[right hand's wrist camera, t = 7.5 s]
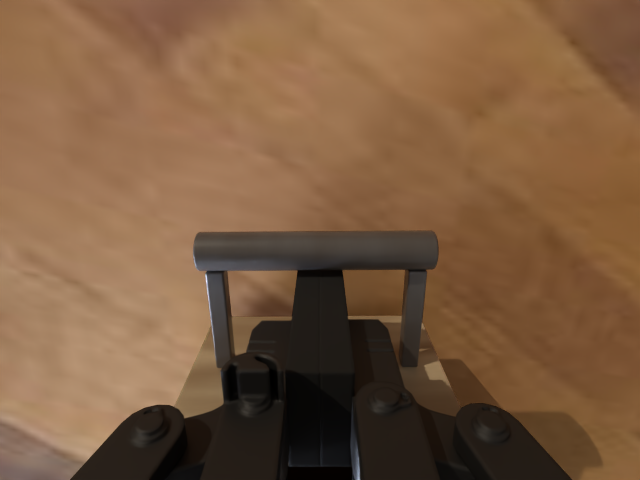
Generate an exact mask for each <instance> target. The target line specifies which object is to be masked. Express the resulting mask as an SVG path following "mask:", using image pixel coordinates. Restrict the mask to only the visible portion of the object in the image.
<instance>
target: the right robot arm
mask: <svg viewBox="0 0 640 480" xmlns="http://www.w3.org/2000/svg"><path fill="white" fill-rule="evenodd" d="M220 372H221V382H222V391H223V400H224V403H223V405H221V406H220V407H218V408H216V409H214V410H212V411H209V412H206V413H203V414H200V415H196V416H192V417H188V418H184V415H183V414H182V413H181V411H180V410H179V409H177V408H175V407H173V406H170V405H155V406H150V407H146V408H143V409H141V410H139V411H137V412H135V413H133V414H132V415H131V416H129V417H128V418H127V419H126V420H125V421H123V422H122V423H121V424H120V425H119V426H118V428H117V429H116V430H115V431H114V432H113V433H112V434H111V435H110V436H109V437H108V439H107V440H106V441H105V442H104V443H103V444H102V445H101V446H100V447H99V448H98V450H97V451H96V452H95V453H94V454H93V455H92V456H91V457H90V458H89V460H88V461H87V462H86V463H85V464H84V465H83V466H82V467H81V468H80V469H79V471H78V472H77V473H76V474H75V475H74V476H73V477H72V478H71V479H70V480H288V475H287V472H288V466H289V467H351V466H352V470H353V475H352V480H572V479H571V478H570V477H569V476H568V475H567V474H566V473H565V471H564V470H563V469H562V468H561V467H560V466H559V465H558V464H557V463H556V462H555V460H554V459H553V458H552V457H551V456H550V455H549V454H548V453H547V452H546V451H545V450H544V448H543V447H542V446H541V445H540V444H539V443H538V442H537V441H536V440H535V439H534V437H533V436H532V435H531V434H530V433H529V432H528V431H527V430H526V429H525V428H524V427H523V425H522V424H521V423H520V422H519V421H518V420H517V419H515V418H514V417H513V416H512V415H511V414H509V413H508V412H506V411H504V410H502V409H500V408H498V407H496V406H492V405H488V404H484V403H473V404H469V405H466V406H464V407H462V408H461V409H460V410H459V411H458V413H457V414H456V417H455V416H451V415H447V414H443V413H439V412H435V411H432V410H429V409H427V408H425V407H423V406H421V405H419V404H418V403H417V402H416V400H415V398H414V397H413V395H412V393H410V392H409V391H408V390H407V389H406V388H405V387H404V383H403V380H402V376H401V373H400V369H399V366H398V362H397V359H396V355H395V352H394V348H393V345H392V342H391V338H390V334H389V331H388V328H387V327H386V326H385V325H384V324H383V323H382V322H381V321H380V320H379V319H348V313H347V304H346V296H345V288H344V280H343V272H342V270H298V272H297V280H296V288H295V296H294V305H293V313H292V320H262V321H261V322H260V323H259V324H258V325H257V326H256V327H255V328H254V329H253V330H252V332H251V336H250V339H249V344H248V346H247V350H246V353H243V354H240V355H238V356H235V357H233V358H232V359H230V360H229V361H228V362H226V363H225V364H224V366H223V368H222V369H221V371H220Z"/></svg>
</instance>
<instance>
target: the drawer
mask: <svg viewBox="0 0 640 480" xmlns="http://www.w3.org/2000/svg"><path fill="white" fill-rule="evenodd" d="M193 257H194V263H195V266H196V268H197V270H199V271H207V272H206V274H205V275H206V283H207V292H208V300H209V309H210V317H211V327H210V329H209V332H208V334H207V336H206V338H205V340H204V343H203V345H202V347H201V349H200V351H199V354H198V356H197V358H196V360H195V362H194V365H193V367H192V369H191V371H190V373H189V376H188V378H187V380H186V382H185V384H184V386H183V389H182V391H181V393H180V395H179V397H178V400H177V402H176V404H175V406H174V407H175V408H177V409H179V410H180V411H181V413H182V414H183V415H184V418H188V417H192V416H196V415H200V414H203V413H206V412H209V411H212V410H214V409H216V408H218V407H220V406H221V405H223V403H224V400H223V391H222V382H221V372H220V371H221V369H222V368H223V366H224V364H225V363H226V362H228V361H229V360H230V359H232V358H233V357H235V356H238V355H240V354H243V353H246V350H247V346H248V344H249V339H250V336H251V332H252V330H253V329H254V328H255V327H256V326H257V325H258V324H259V323H260V322H261V321H262V320H292V316H268V317H232V316H231V306H230V295H229V285H228V275H227V271H276V270H405V280H404V293H403V306H402V316H348V319H379V320H380V321H381V322H382V323H383V324H384V325H385V326H386V327H387V328H388V331H389V334H390V338H391V342H392V345H393V348H394V352H395V355H396V359H397V362H398V366H399V369H400V373H401V376H402V380H403V383H404V387H405V388H406V389H407V390H408V391H409V392H410V393H412V395H413V397H414V398H415V400H416V402H417V403H418V404H419V405H421V406H423V407H425V408H427V409H429V410H432V411H435V412H439V413H443V414H447V415H451V416H455V417H456V414H457V413H458V411H459V410H460V409H461V407H460V405H459V403H458V401H457V399H456V396H455V394H454V392H453V390H452V387H451V385H450V383H449V381H448V378H447V376H446V374H445V372H444V369H443V367H442V365H441V363H440V360H439V358H438V356H437V354H436V351H435V349H434V347H433V345H432V343H431V340H430V338H429V336H428V334H427V331H426V329H425V327H424V325H423V322H422V318H423V308H424V298H425V288H426V278H427V271H426V270H432V269H434V268H435V267H436V265H437V261H438V241H437V237H436V234H435V232H433V231H294V232H199V233H197V235H196V237H195V240H194V246H193ZM287 475H288V480H352V475H353V470H352V466H351V467H289V466H288V472H287Z"/></svg>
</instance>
